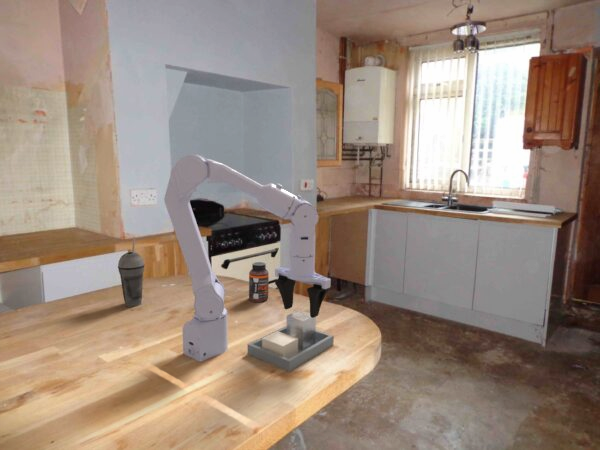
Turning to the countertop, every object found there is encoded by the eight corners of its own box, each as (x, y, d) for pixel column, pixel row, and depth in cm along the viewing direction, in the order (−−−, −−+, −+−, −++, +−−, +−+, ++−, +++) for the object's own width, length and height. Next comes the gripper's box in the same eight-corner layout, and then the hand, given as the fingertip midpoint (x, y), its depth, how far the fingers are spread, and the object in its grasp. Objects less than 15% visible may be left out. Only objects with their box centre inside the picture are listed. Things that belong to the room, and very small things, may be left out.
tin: (302, 350, 95) (303, 321, 94) (286, 344, 98) (286, 315, 97) (315, 343, 99) (315, 315, 98) (299, 337, 102) (299, 310, 101)
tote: (289, 375, 86) (289, 361, 86) (247, 357, 94) (247, 344, 93) (333, 347, 99) (333, 335, 98) (293, 333, 106) (293, 322, 106)
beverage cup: (119, 301, 126) (115, 235, 123) (145, 298, 130) (142, 234, 126) (120, 309, 120) (116, 240, 117) (147, 306, 123) (144, 238, 120)
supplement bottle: (259, 304, 126) (259, 267, 124) (244, 299, 130) (244, 263, 128) (272, 298, 131) (272, 263, 129) (258, 294, 134) (258, 260, 133)
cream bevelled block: (283, 364, 89) (283, 346, 89) (262, 355, 93) (262, 338, 92) (297, 355, 93) (298, 338, 92) (277, 347, 97) (277, 330, 96)
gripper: (339, 256, 94) (337, 314, 96) (288, 246, 102) (288, 300, 105) (320, 262, 88) (318, 324, 90) (269, 251, 97) (268, 308, 99)
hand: (301, 312), depth 97 cm, fingers open, 7 cm apart
